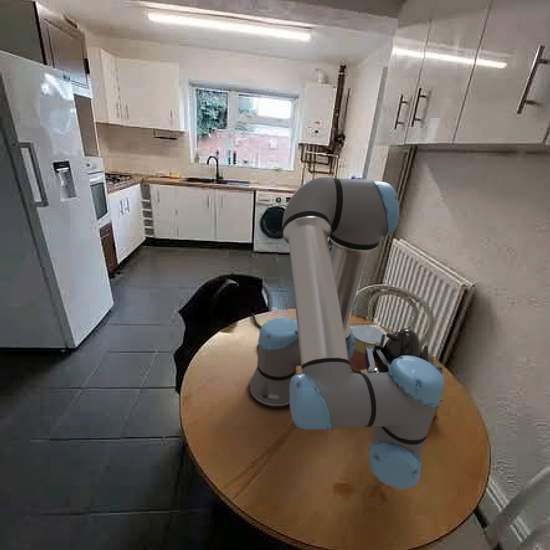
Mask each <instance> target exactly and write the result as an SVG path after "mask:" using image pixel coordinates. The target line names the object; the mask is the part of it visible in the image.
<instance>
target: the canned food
mask: <svg viewBox="0 0 550 550" xmlns="http://www.w3.org/2000/svg"><path fill="white" fill-rule="evenodd" d="M351 329H352V331H353V334H354V340H355V343H354V351H353V355H352V357H351V359H350V360H349V362H350V367H351V369H353V370H355V371H357V372H358V373H360V370H365V369H367V367H366V361H365V356H364V355H365V351H366V347H367V346H370V347H371V348H374V347H375V342H379V343H380V342H381V337H382V334H384V333H383V332H382V331H381V330H380V329H378V328H377V327H375V326H374V327H373V326H370V325H366V324H361V325H359V324H358V325H355V326H353V327H352V328H351ZM385 341H386V338H385V339H384V342H385ZM374 362H375V360H374ZM375 367H377V363H376V362H375Z"/></svg>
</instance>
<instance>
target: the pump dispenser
mask: <svg viewBox="0 0 550 550" xmlns="http://www.w3.org/2000/svg"><path fill="white" fill-rule="evenodd" d="M385 338H388V339H387V340H386V342H385V343H384V345H383V350H382V353H383V355H384V357H385V358H386V360H387V361H388V363H389V364H390V365H391V363H392V361H393V360H394V359H396V358H398V357H400V356H414V357H418V358H421V359H422V352H423V349H422V345H421V340H420V338H419V335H418V334H417V333H416V331H414V330H413V329H410V328H407V327H403V328H399V329H397V330H396V331H395V332H393V333H389V332H386V334H385ZM377 369H378V373H382V372H381V370H380V368H379V367H378V365H377Z"/></svg>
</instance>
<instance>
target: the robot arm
mask: <svg viewBox="0 0 550 550" xmlns="http://www.w3.org/2000/svg"><path fill="white" fill-rule="evenodd" d="M399 219H400V202H399V197H398V193H397V192H396V190H395V188H394V187H393V185H391V184H390V183H389V182H385V181H378V180H374V179H360V178H359V179H358V178H342V177H341V178H339V177H331V176H320V177H316V178H313V179H311V180H309V181H307V182H305V183H304V184H302V185H301V186H300V187H299V188H297V190H296V191H295V192H294V193H293V195H291V197H290V199H289V200H288V202H287V204H286V207H285V209H284V212H283V216H282V222H281V223H282V224H281V225H282V227H281V228H282V237H283V240H284V241H285V243H286V244H287V245H288V247H289V255H290V256H289V257H290V266H291V276H292V286H293V296H294V306H295V315H296V317H295V318H293V317H292V318H291V316H277V317H272V318H270V319H268V320H267V321H266V322H264V323H263V324H262V325H260V323H258V321H257V319H256V315H255V313H253V312H251V313H250V316H252V320H253V322H254V324H255V326H256V327H258V328H259V329H260V330H259V336H258V340H257V342H258V345H257V362H256V363H257V365H256V368H255V370H254V372H253V374H252V377H251V379H250V383H249V393H250V396H251V397H252V399H253V400H254V401H255V402H256V403H257V404H258V405H261V406H263V407H265V408H268V409H284V408H286V407H289V409H290V410H289V412H290V415H291V419H292V421H293V424H294V425H295V426H296V427H297V428H299V429H300V430H325V431H326V432H327V431H331V430H338V429H353V428H373V429H372V434H371V440H370V445H369V448H368V451H369V453H368V454H369V455H368V456H369V457H368V467H369V469H370V471H371V473H372V474H373V475H374V477H375V478H376V479H377V480H378V481H380V482H381V483H383V484H384V485H387V486H390V487H391V488H393V489H398V490H406V489H411V488H413V487H415V486H416V485H417V484H418V483H419V481H420V478H421V469H422V467H423V463H422V453H423V449H424V446H425V443H426V440H427V438H428V433H429V431H430V427H431V425H432V423H433V420H434V418H435V417H434V415H435V412H436V409H437V407H438V406H440V404H441V402H440V399H441V398H442V395H443V391H444V385H445V379H444V377H443V375H442V374H443V370H444V368H443V367H442V366H436V365H435V364H434V358H433V357H432V356H430V355H429V346H428V345H424V346H423V349H422V359H421V358H418V357H414V356H400V357H398V358H396V359H394V360H393V361H392V363H391V365H390V364H389V363H388V361H387V360H386V358H385V357H384V355H383V353H382V350H383V347H384V345H385V341H384V339H385V340H386V334H384V333H383V334H382V337H381V342H380V343H379V342H375V347H374V348H371V347H370V346H367V347H366V351H365V355H364V356H365V361H366V367H367V373H360V372H353V371H352V368H351V367H350V362H349V360H350V359H351V357H352V355H353V351H354V343H355V340H354V334H353V331H352V328H351V325H350V323H349V319H350V316H351V313H352V309H353V307H354V302H355V299H356V296H357V293H358V290H359V287H360V284H361V280H362V277H363V273H364V271H365V267H366V264H367V261H368V257H369V254H370V252H371V251H374V250H376V249H377V248H378V247H379V245H380V242H381V239H382V237H384V238H385V237H388V236H390V235H392V234H393V233H394V232H395V231H396V229H397V227H398V223H399ZM328 240H330V241H331V243H332V246H331V249H330V245H329V241H328ZM374 360H375V362H376V363H377V365H378V367H379V368H380V370H381V372H382V373H378V372H377V369H375V362H374ZM297 367H300V368H301V373H300V374H297ZM438 408H439V407H438ZM437 410H438V409H437ZM436 413H437V412H436ZM435 416H436V415H435Z"/></svg>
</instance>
